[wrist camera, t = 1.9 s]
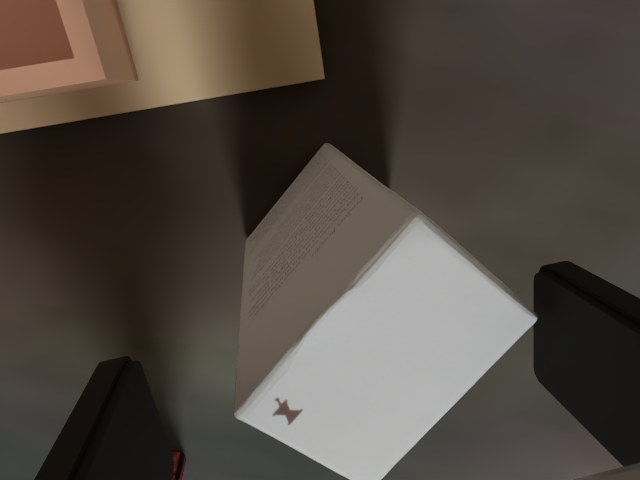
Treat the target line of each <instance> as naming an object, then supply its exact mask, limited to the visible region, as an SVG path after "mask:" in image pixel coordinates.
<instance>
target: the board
mask: <svg viewBox="0 0 640 480" xmlns="http://www.w3.org/2000/svg"><path fill="white" fill-rule="evenodd" d="M116 1H117V5H118V8H119V12H120V15H121V19H122V22H123V26H124V30H125V33H126V37H127V40H128V44H129V47H130V51H131V55H132V58H133V62H134V65H135V69H136V72H137V76H138V80H139V81H133V82H127V83H121V84H115V85H109V86H103V87H97V88H91V89H85V90H78V91H72V92H66V93H60V94H54V95H48V96H42V97H36V98H30V99H24V100H18V101H12V102H6V103H0V134H2V133H8V132H14V131H19V130H25V129H31V128H37V127H43V126H49V125H55V124H61V123H67V122H73V121H78V120H84V119H90V118H96V117H102V116H108V115H114V114H120V113H126V112H132V111H137V110H143V109H149V108H155V107H161V106H167V105H173V104H179V103H185V102H191V101H196V100H202V99H208V98H214V97H220V96H226V95H232V94H238V93H244V92H250V91H256V90H261V89H267V88H273V87H279V86H285V85H291V84H297V83H303V82H309V81H315V80H320V79H325V76H324V69H323V62H322V55H321V48H320V42H319V35H318V28H317V21H316V14H315V7H314V0H116Z"/></svg>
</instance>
